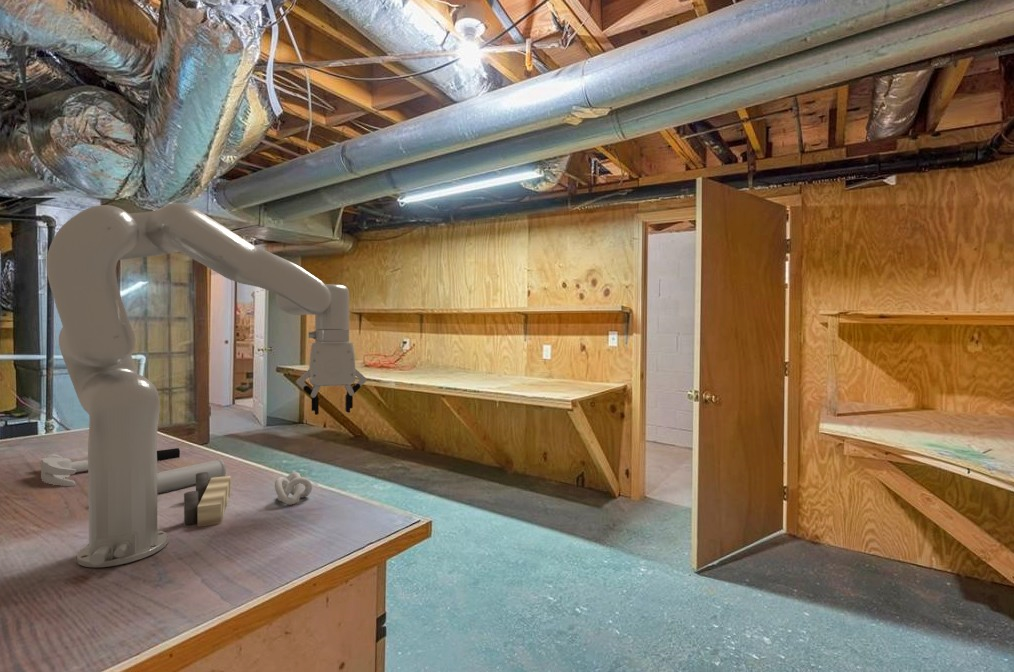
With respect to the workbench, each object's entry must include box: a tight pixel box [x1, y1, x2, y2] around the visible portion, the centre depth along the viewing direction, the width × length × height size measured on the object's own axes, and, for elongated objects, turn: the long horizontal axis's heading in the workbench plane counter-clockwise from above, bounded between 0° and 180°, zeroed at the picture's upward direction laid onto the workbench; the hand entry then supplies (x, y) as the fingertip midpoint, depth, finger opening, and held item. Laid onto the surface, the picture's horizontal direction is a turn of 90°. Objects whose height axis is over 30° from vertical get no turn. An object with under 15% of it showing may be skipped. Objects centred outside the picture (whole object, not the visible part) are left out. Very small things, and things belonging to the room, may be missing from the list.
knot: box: [274, 471, 313, 506], centre depth 111 cm, size 8×8×6 cm
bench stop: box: [183, 472, 232, 528], centre depth 106 cm, size 20×7×6 cm, turn 25°
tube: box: [157, 458, 227, 495], centre depth 117 cm, size 5×5×25 cm
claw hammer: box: [39, 447, 181, 487], centre depth 135 cm, size 5×22×30 cm
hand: (332, 412), depth 115 cm, fingers open, 6 cm apart
